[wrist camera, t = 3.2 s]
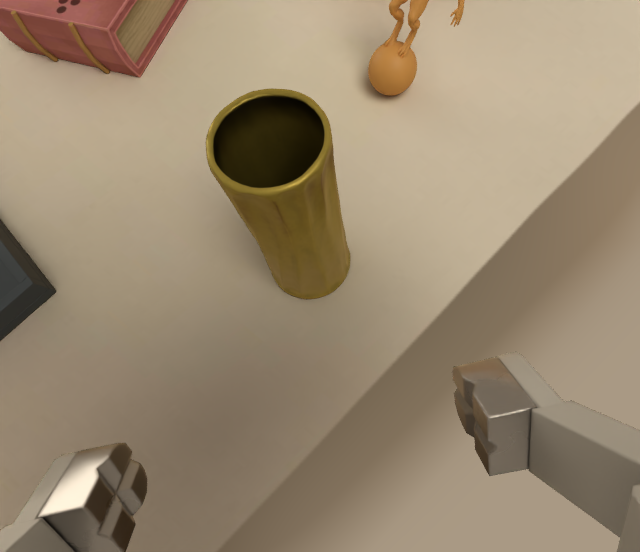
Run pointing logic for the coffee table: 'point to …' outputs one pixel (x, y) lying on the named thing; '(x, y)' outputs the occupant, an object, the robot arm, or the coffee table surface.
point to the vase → (283, 186)
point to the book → (91, 30)
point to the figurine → (400, 51)
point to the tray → (18, 283)
